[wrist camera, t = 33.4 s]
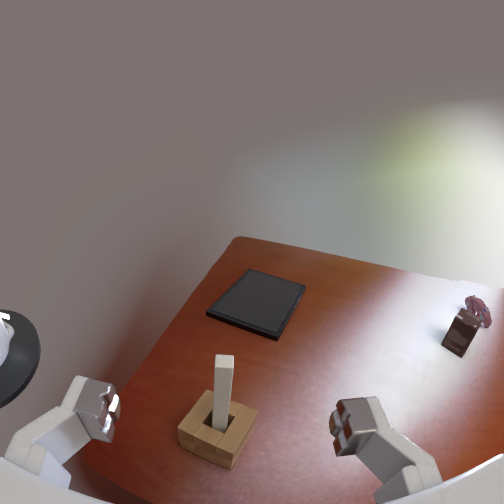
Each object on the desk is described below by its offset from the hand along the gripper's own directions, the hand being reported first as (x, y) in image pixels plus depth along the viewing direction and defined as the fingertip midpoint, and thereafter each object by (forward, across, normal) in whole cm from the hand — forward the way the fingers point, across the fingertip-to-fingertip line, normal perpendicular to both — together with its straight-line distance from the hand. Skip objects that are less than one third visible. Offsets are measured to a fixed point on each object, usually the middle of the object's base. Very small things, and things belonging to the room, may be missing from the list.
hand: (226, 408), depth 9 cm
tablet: (+44, -7, +25) cm, 51 cm away
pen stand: (+12, 0, +25) cm, 28 cm away
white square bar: (+12, 0, +25) cm, 28 cm away
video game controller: (+38, -64, +25) cm, 79 cm away
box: (+29, -49, +25) cm, 62 cm away
